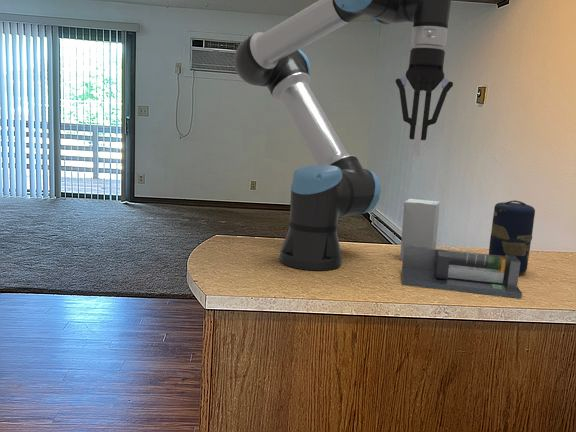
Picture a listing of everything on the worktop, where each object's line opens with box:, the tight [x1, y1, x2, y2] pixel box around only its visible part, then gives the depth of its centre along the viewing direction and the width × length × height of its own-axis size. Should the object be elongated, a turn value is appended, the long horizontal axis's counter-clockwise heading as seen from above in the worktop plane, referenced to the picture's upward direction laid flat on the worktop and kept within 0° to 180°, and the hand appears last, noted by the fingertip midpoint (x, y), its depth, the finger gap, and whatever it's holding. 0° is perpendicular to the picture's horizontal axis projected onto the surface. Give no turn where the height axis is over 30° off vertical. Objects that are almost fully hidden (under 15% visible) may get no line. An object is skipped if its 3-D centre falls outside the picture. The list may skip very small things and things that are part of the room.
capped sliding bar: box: [435, 251, 506, 284], centre depth 127 cm, size 14×5×6 cm, turn 79°
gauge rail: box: [401, 246, 523, 299], centre depth 127 cm, size 25×12×7 cm, turn 79°
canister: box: [488, 200, 536, 275], centre depth 140 cm, size 10×10×18 cm
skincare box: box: [399, 198, 441, 260], centre depth 146 cm, size 8×7×16 cm
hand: (415, 154), depth 130 cm, fingers closed
